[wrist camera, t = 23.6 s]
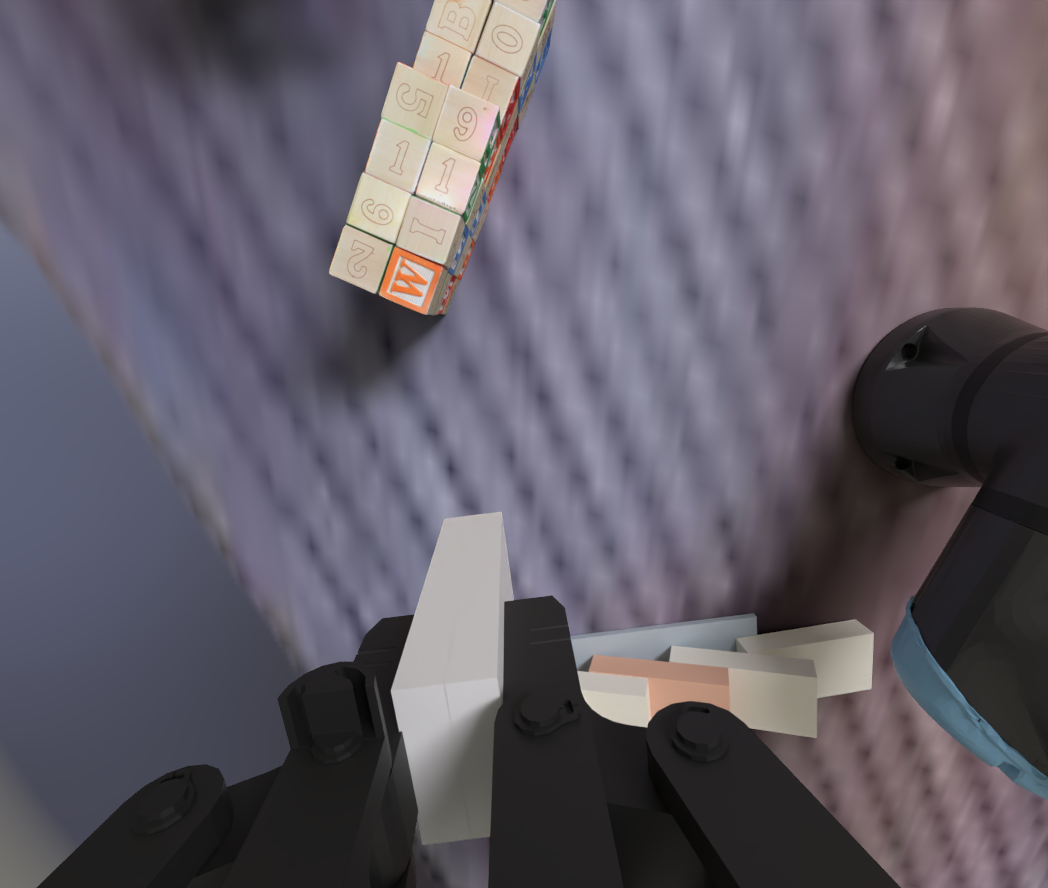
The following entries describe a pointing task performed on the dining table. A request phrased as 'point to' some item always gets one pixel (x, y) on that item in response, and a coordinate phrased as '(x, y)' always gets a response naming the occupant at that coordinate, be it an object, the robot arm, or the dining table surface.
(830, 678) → the domino
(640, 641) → the mat
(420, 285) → the stack of blocks
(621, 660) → the domino
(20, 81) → the dining table surface
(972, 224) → the dining table surface
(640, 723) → the domino
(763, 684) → the domino
